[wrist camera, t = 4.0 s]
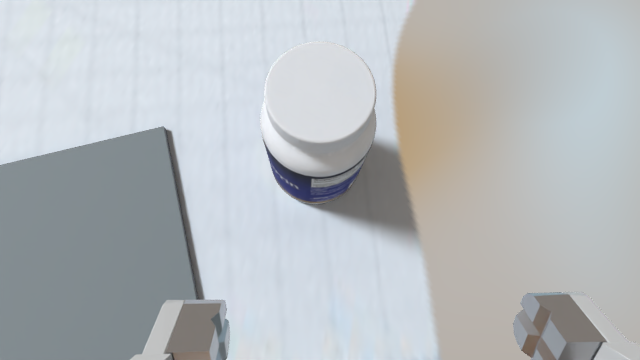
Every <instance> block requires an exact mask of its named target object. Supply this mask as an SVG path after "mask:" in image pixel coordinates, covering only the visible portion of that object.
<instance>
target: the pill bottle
mask: <svg viewBox="0 0 640 360" xmlns="http://www.w3.org/2000/svg"><path fill="white" fill-rule="evenodd" d="M264 97H265V100H264V103H263V106H262V110H261V116H260V126H261V133H262V137H263V141H264V144H265V147H266V151H267V154H268V158H269V161H270V164H271V168H272V171H273V174H274V177H275V179H276V181H277V183H278V185H279V186H280V187H281V188H282V190H283V191H284V192H285V193H287V194H288V195H289V196H291V197H292V198H294V199H296V200H298V201H301V202H304V203H310V204H321V203H327V202H330V201H333V200H335V199H337V198H339V197H340V196H342V195H343V194H344V193H345V192H346V191H347V190H348V189H349V188H350V187H351V186H352V184H353V183H354V181H355V179H356V178H357V175H358V173H359V171H360V169H361V167H362V165H363V162H364V160H365V158H366V156H367V154H368V152H369V150H370V147H371V145H372V143H373V139H374V136H375V131H376V114H375V109H374V107H375V103H376V86H375V81H374V78H373V75H372V73H371V71H370V69H369V68H368V66H367V65H366V63H365V62H364V61H363V60H362V59H361V58H360V57H359V56H358V55H357V54H355V53H354V52H353V51H351V50H349V49H348V48H346V47H344V46H341V45H338V44H335V43H330V42H309V43H304V44H300V45H298V46H295V47H293V48H291V49H290V50H288V51H286V52H285V53H284V54H282V55H281V56H280V57H279V58H278V59H277V60H276V61H275V63H274V64H273V65H272V67H271V69H270V71H269V73H268V75H267V78H266V82H265V89H264Z"/></svg>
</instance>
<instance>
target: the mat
mask: <svg viewBox="0 0 640 360" xmlns="http://www.w3.org/2000/svg"><path fill="white" fill-rule="evenodd" d="M166 300H198V296H197V291H196V286H195V281H194V275H193V270H192V265H191V260H190V254H189V249H188V244H187V239H186V233H185V228H184V223H183V218H182V212H181V207H180V202H179V197H178V191H177V186H176V181H175V176H174V171H173V165H172V160H171V155H170V150H169V144H168V139H167V134H166V129H165V128H164V127H159V128H155V129H150V130H146V131H142V132H138V133H134V134H129V135H125V136H121V137H117V138H113V139H108V140H104V141H100V142H96V143H91V144H87V145H83V146H79V147H75V148H70V149H66V150H62V151H58V152H54V153H49V154H45V155H41V156H37V157H32V158H28V159H24V160H20V161H16V162H11V163H7V164H3V165H0V360H130V359H131V358H132V357H133V356H135V355H136V354H142V353H143V350H144V348H145V346H146V343H147V341H148V338H149V336H150V334H151V331H152V329H153V327H154V324H155V322H156V319H157V317H158V315H159V312H160V310H161V308H162V305H163V304H164V303H165V302H166Z"/></svg>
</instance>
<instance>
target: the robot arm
mask: <svg viewBox="0 0 640 360" xmlns="http://www.w3.org/2000/svg"><path fill="white" fill-rule="evenodd" d="M521 305H522V307H523V310H522V311H521V312H519V313H518V314H517V315H516V317H515V320H514V323H513V327H514V335H515V338H516V341H517V343H518V345H519V347H520V349H521V351H523V352H524V353H525V354H527V355H528V356H530V357H531V360H640V345H639V344H638V343H636V342H629V341H628V340H627V339H626V338H625V337H624V336H623V334H622V333H621V332H620V331H619V330H618V329H617V328H616V326H615V325H614V324H613V323H612V322H611V321H610V320H609V318H608V317H607V316H606V315H605V314H604V313H603V312H602V311H601V309H600V308H599V307H598V306H597V305H596V304H595V302H594V301H593V300H592V299H591V298H590V297H589V296H588V295H587V294H585V293H583V292H564V293H561V292H555V293H527V294H526V295H525V296H523V298H522V301H521ZM226 311H227V308H226V302H225V300H166V302H165V303H164V304H163V305H162V308H161V310H160V312H159V315H158V317H157V319H156V322H155V324H154V327H153V329H152V331H151V334H150V336H149V338H148V341H147V343H146V346H145V348H144V350H143V353H142V354H136V355H135V356H133V357H132V358H131V359H130V360H226V359H227V355H228V350H229V340H230V327H229V321H228V320H227V319H225V316H226Z"/></svg>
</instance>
